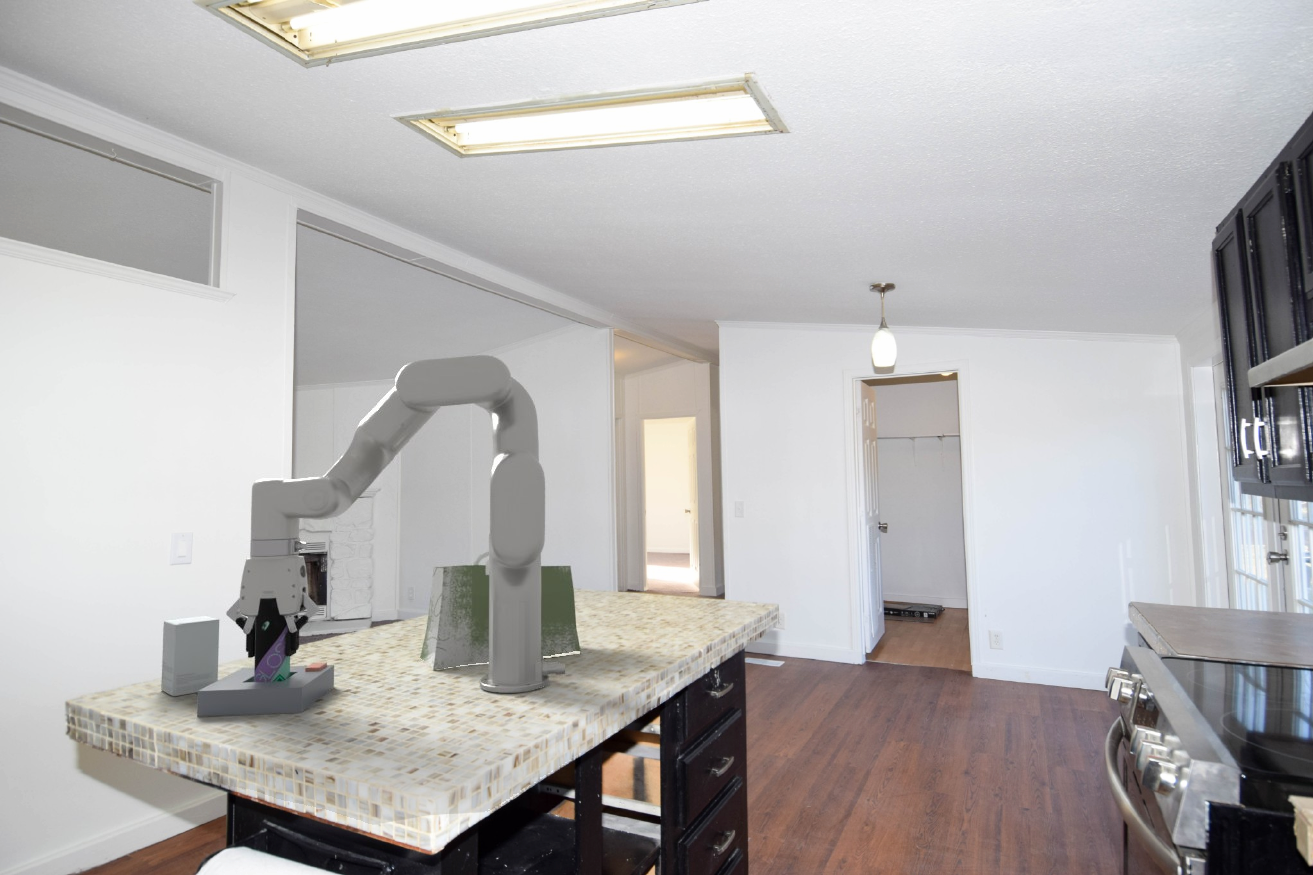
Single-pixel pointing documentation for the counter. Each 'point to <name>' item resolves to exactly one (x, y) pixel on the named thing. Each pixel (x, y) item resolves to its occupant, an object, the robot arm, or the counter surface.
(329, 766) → the counter surface
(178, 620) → the supplement box
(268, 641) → the spray can
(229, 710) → the socket plate
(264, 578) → the robot arm
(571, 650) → the grocery bag
